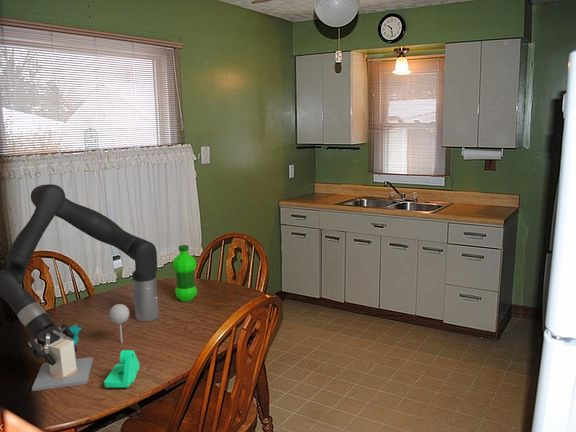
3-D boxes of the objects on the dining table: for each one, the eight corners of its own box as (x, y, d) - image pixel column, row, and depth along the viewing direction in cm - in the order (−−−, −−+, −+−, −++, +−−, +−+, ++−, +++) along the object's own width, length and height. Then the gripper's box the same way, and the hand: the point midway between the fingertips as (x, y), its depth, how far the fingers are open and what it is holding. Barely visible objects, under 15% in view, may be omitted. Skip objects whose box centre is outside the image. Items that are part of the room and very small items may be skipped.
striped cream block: (64, 365, 170) (60, 337, 167) (76, 368, 168) (73, 340, 165) (50, 373, 165) (46, 344, 162) (63, 377, 162) (59, 347, 160)
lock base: (92, 359, 176) (91, 343, 174) (87, 383, 161) (85, 365, 159) (42, 366, 172) (40, 349, 171) (32, 391, 157) (29, 373, 155)
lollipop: (135, 339, 191) (132, 302, 187) (123, 348, 184) (120, 309, 181) (119, 337, 193) (116, 300, 190) (107, 345, 186) (103, 307, 183)
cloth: (64, 325, 205) (63, 320, 204) (97, 325, 205) (97, 320, 204) (31, 357, 180) (31, 351, 179) (70, 357, 179) (69, 351, 179)
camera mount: (117, 370, 169) (114, 342, 167) (139, 370, 169) (137, 342, 166) (103, 390, 157) (100, 360, 155) (128, 390, 157) (125, 360, 155)
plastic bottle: (186, 293, 237) (183, 241, 231) (202, 298, 231) (200, 245, 225) (170, 300, 229) (166, 247, 223) (186, 305, 223) (183, 250, 217)
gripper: (21, 321, 158) (52, 362, 156) (58, 305, 171) (87, 342, 169) (11, 334, 162) (42, 374, 160) (48, 317, 174) (76, 354, 172)
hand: (65, 357), depth 164 cm, fingers open, 8 cm apart
